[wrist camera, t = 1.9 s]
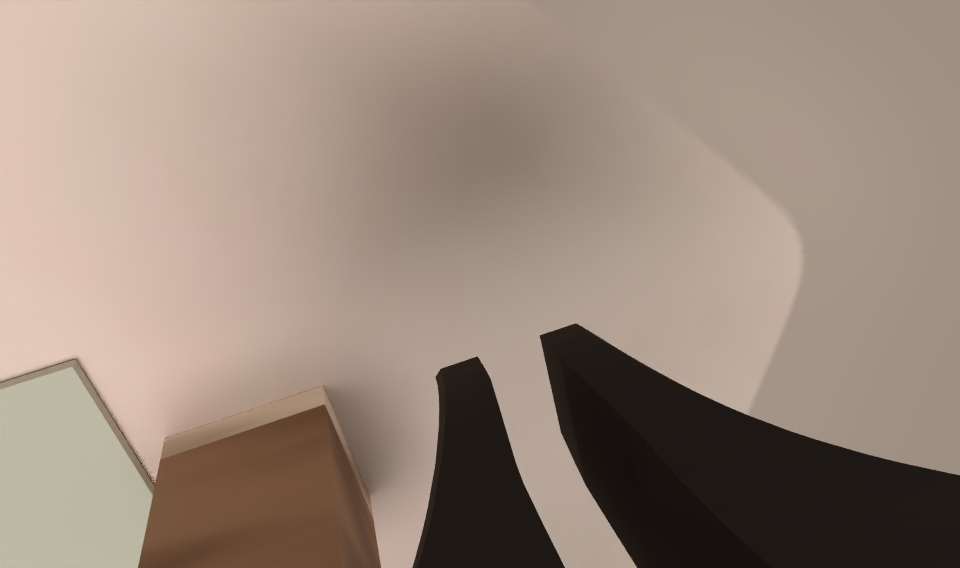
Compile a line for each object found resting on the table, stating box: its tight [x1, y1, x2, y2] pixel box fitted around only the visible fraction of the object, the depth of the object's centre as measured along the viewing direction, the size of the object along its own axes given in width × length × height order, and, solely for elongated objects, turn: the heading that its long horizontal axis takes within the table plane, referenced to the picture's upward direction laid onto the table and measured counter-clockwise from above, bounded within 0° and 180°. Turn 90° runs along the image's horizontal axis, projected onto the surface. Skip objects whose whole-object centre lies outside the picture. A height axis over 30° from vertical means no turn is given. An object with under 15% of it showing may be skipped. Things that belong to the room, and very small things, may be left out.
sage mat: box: [0, 359, 155, 568], centre depth 23 cm, size 12×10×1 cm
